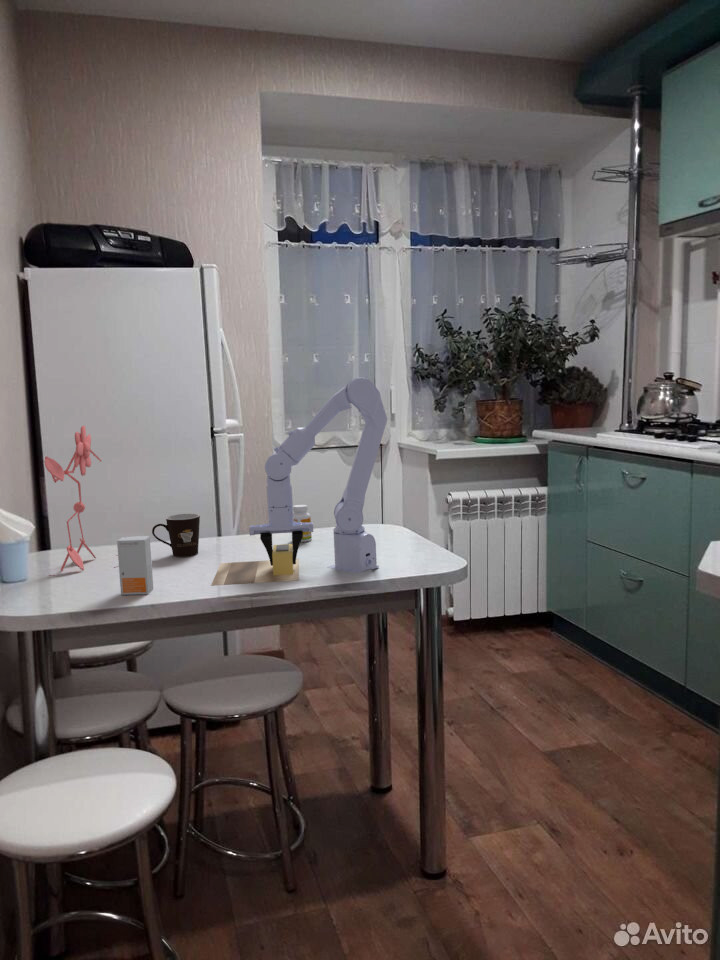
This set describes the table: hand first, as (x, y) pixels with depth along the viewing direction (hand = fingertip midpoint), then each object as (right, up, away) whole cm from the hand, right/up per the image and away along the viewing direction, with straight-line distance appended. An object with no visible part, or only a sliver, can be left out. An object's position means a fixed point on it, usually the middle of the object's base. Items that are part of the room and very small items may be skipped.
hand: (283, 563), depth 174 cm
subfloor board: (-6, -2, 0) cm, 6 cm away
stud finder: (0, -1, 0) cm, 1 cm away
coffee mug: (-29, 0, +23) cm, 37 cm away
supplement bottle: (+2, +2, +34) cm, 34 cm away
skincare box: (-30, -5, -12) cm, 33 cm away
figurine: (-49, -2, +15) cm, 51 cm away
